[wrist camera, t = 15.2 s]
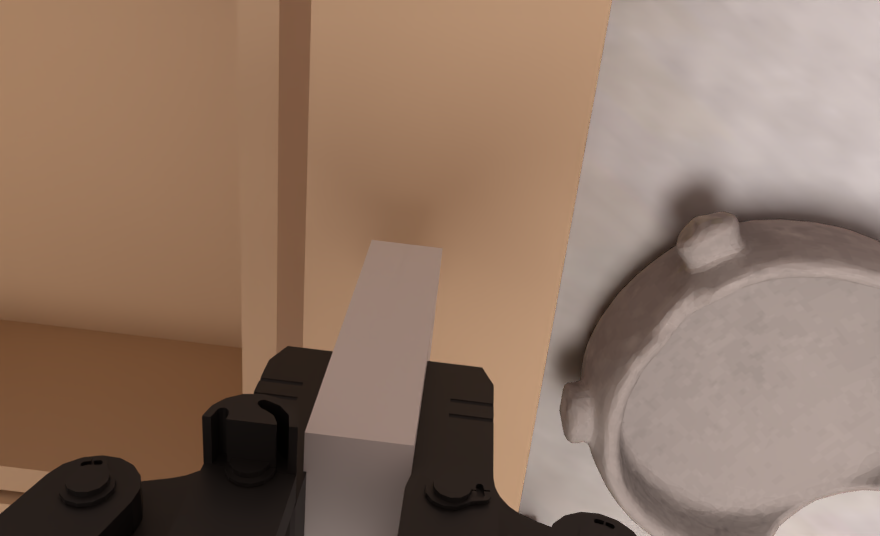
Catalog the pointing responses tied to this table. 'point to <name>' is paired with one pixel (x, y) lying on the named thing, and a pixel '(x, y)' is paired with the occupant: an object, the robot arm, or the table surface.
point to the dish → (736, 378)
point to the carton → (145, 222)
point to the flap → (453, 174)
